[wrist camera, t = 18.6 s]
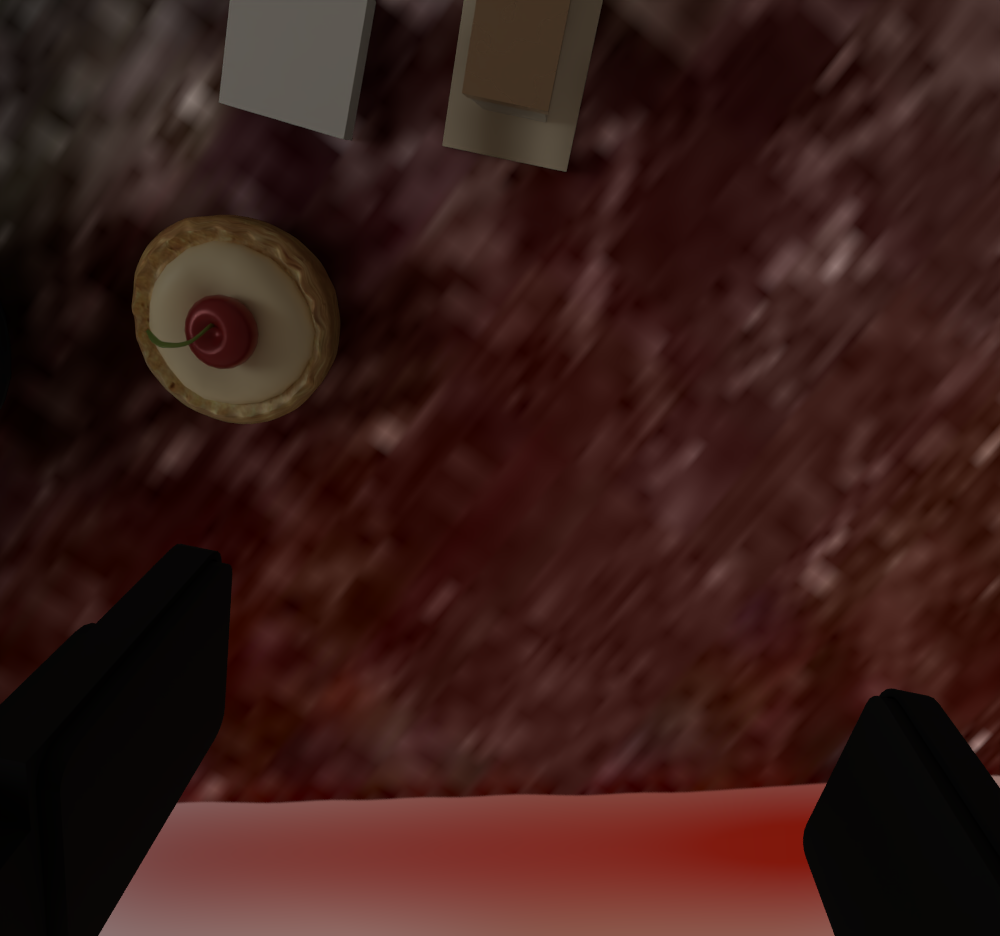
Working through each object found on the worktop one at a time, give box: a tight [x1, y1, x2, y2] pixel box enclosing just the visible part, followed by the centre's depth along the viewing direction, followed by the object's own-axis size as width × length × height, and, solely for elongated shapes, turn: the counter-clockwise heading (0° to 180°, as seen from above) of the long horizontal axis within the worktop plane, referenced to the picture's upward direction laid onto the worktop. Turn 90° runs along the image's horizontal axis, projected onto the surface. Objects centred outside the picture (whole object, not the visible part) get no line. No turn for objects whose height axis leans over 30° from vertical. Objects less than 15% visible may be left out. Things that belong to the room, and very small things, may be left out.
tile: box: [219, 0, 376, 141], centre depth 39 cm, size 2×7×7 cm
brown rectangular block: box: [462, 0, 571, 123], centre depth 34 cm, size 4×9×9 cm, turn 169°
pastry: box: [132, 215, 340, 424], centre depth 42 cm, size 12×12×9 cm
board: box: [442, 0, 603, 172], centre depth 38 cm, size 7×13×1 cm, turn 169°
